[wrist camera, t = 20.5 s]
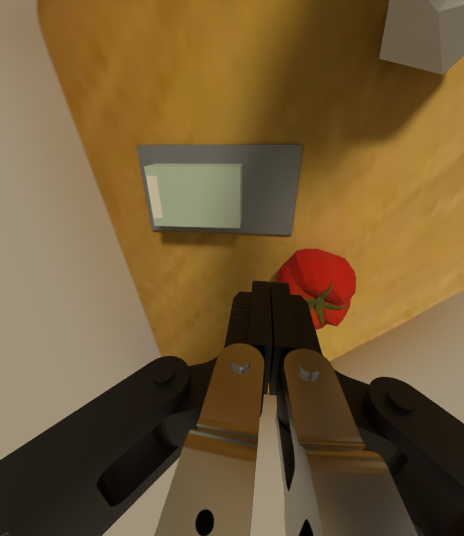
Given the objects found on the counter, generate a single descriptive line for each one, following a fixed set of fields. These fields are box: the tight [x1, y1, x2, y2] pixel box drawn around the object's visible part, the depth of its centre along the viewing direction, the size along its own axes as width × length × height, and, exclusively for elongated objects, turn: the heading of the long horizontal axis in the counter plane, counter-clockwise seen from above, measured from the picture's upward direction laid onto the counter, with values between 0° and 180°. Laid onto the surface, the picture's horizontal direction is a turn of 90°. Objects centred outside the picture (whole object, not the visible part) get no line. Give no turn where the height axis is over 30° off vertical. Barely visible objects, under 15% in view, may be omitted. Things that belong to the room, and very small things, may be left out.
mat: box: [137, 144, 303, 235], centre depth 31 cm, size 11×20×1 cm, turn 90°
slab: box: [144, 164, 243, 228], centre depth 29 cm, size 7×4×11 cm
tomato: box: [277, 249, 356, 330], centre depth 31 cm, size 11×11×9 cm
